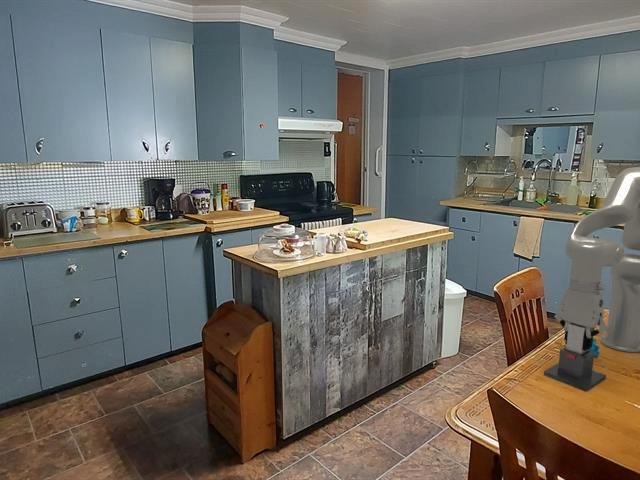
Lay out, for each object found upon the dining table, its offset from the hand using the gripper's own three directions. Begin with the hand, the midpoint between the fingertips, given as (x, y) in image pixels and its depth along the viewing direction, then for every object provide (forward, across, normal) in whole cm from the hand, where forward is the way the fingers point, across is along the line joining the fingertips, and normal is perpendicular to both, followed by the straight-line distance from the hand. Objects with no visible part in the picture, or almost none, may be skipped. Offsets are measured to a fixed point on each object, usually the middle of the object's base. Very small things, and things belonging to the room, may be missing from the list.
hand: (577, 345), depth 128 cm
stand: (+10, 0, 0) cm, 10 cm away
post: (+7, 0, 0) cm, 7 cm away
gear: (+10, +5, -20) cm, 23 cm away
